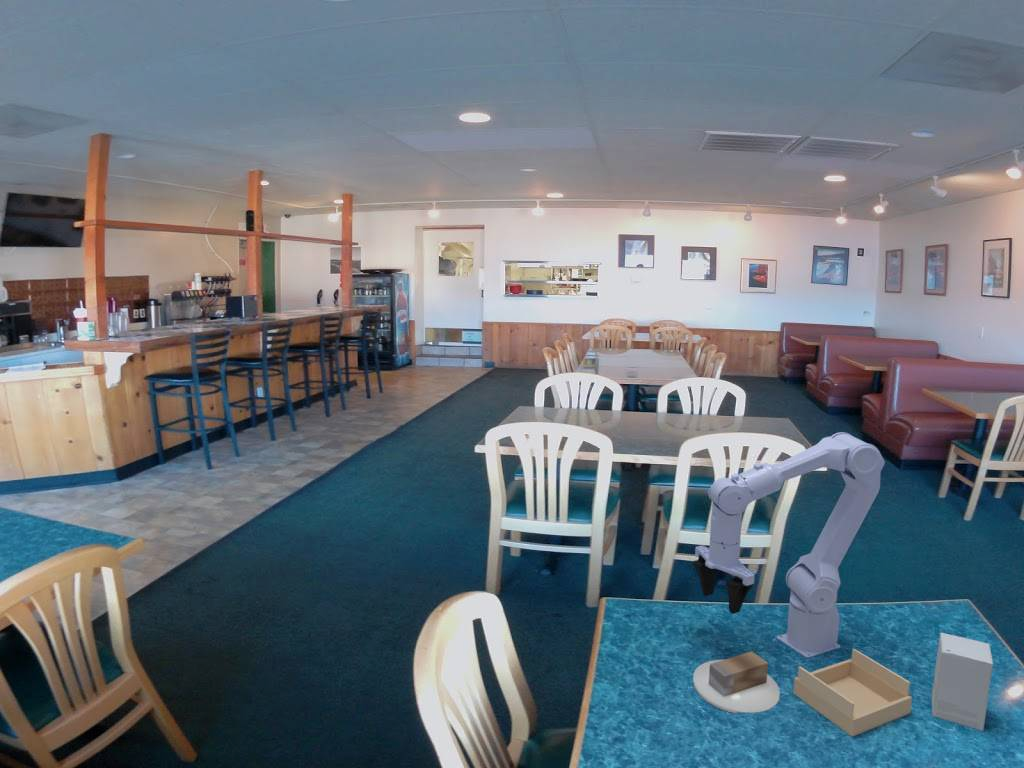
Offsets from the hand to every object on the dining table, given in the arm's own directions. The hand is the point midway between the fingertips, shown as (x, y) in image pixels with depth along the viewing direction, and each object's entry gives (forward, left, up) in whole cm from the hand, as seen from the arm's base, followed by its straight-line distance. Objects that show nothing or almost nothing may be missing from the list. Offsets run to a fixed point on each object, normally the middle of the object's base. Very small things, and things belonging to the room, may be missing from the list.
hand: (720, 603), depth 133 cm
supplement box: (-24, +33, -10) cm, 42 cm away
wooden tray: (-9, +24, -9) cm, 27 cm away
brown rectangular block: (+6, +12, -9) cm, 16 cm away
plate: (+6, +12, -9) cm, 17 cm away
